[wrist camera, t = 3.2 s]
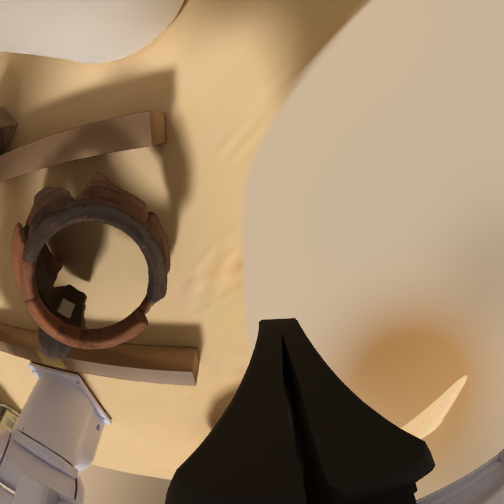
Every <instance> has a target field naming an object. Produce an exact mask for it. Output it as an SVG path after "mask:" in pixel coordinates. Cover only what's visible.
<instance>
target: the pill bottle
mask: <svg viewBox="0 0 504 504" xmlns="http://www.w3.org/2000/svg"><path fill="white" fill-rule="evenodd" d="M183 2H184V0H0V52H11V53H23V54H32V55H40V56H47V57H53V58H59V59H65V60H70V61H76V62H81V63H91V64H100V63H108V62H113V61H116V60H119V59H122V58H125V57H127V56H129V55H132V54H134V53H135V52H137V51H139V50H141V49H142V48H144V47H145V46H147V45H148V44H150V43H151V42H152V41H154V40H155V39H156V38H157V37H158V36H159V35H161V34H162V33H163V32H164V31H165V30H166V28H167V27H168V26H169V25H170V24H171V23H172V21H173V20H174V19H175V17H176V16H177V14H178V12H179V11H180V9H181V7H182V4H183Z"/></svg>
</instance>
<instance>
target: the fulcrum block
mask: <svg viewBox="0 0 504 504" xmlns="http://www.w3.org/2000/svg"><path fill="white" fill-rule="evenodd" d="M16 126H17V123H16V122H15V121H14V120H13V119H12V118H11V117H10V116H9V115H8V114H7V113H6V112H5V110H4V109H3V108H2V107H0V155H3V154H5V153H6V151H7V148H8V146H9V143H10V141H11V138H12V136H13V133H14V131H15V128H16Z"/></svg>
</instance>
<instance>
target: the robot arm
mask: <svg viewBox="0 0 504 504" xmlns="http://www.w3.org/2000/svg"><path fill="white" fill-rule="evenodd" d="M29 368H30V369H31V370H32V372H33V373H34V375H35V376H36V378H37V379H38V381H37V383H36V385H35V386H34V388H33V390H32V392H31V394H30V396H29V398H28V399H27V401H26V403H25V405H24V407H23V409H22V411H21V413H20V415H19V417H18V419H17V422H16V424H15V426H14V428H13V429H12V430H10V431H9V430H8V429H7V428H4V429H0V482H1V483H2V484H4V485H6V486H7V487H8V488H10V489H11V490H13V491H15V495H14V494H13V493H11V492H9V491H8V490H6V489H5V488H3V487H2V486H1V485H0V504H83V501H84V487H83V484H82V481H81V478H80V477H79V476H78V475H77V472H78V471H81V470H84V469H86V468H87V467H88V466H89V465H90V464H91V463H92V461H93V459H94V456H95V453H96V450H97V446H98V443H99V440H100V437H101V434H102V431H103V428H104V424H111V423H112V421H111V420H110V419H109V417H108V416H107V415H106V413H105V412H104V411H103V409H102V408H101V407H100V405H99V404H98V402H97V401H96V400H95V398H94V397H93V395H92V394H91V392H90V391H89V390H88V388H87V387H86V385H85V383H84V382H83V380H82V379H81V377H80V376H79V375H77V374H73V373H69V372H65V371H60V370H56V369H52V368H48V367H45V366H41V365H37V364H34V363H29ZM434 467H435V463H434V460H433V458H432V455H431V452H430V450H429V448H428V447H427V445H426V443H425V441H423V440H421V439H419V438H417V437H415V436H413V435H411V434H409V433H407V432H406V431H404V430H402V429H400V428H398V427H397V426H396V425H394V424H393V423H391V422H390V421H388V420H386V419H385V418H384V417H382V416H381V415H380V414H378V413H377V412H376V411H374V410H373V409H371V407H369V406H368V405H366V404H365V403H364V402H363V401H362V400H361V399H359V397H357V396H356V395H355V394H354V393H353V392H352V391H351V390H350V389H349V388H348V387H347V386H346V385H345V384H344V383H343V382H342V381H341V380H340V379H339V378H338V377H337V376H336V374H335V373H334V372H333V371H332V370H331V369H330V367H329V366H328V365H327V364H326V363H325V361H324V360H323V359H322V357H321V356H320V355H319V353H318V352H317V351H316V349H315V348H314V347H313V345H312V344H311V342H310V341H309V339H308V338H307V336H306V335H305V333H304V331H303V330H302V328H301V326H300V325H299V323H298V321H297V320H296V319H295V318H291V319H272V320H261V321H260V322H259V332H258V337H257V341H256V345H255V348H254V351H253V354H252V357H251V360H250V363H249V366H248V368H247V370H246V373H245V375H244V377H243V380H242V382H241V384H240V386H239V388H238V390H237V392H236V394H235V395H234V397H233V399H232V401H231V403H230V404H229V406H228V407H227V409H226V411H225V412H224V414H223V415H222V417H221V418H220V420H219V421H218V423H217V424H216V426H215V427H214V428H213V429H212V431H211V432H210V433H209V435H208V436H207V437H206V438H205V440H204V441H203V442H202V443H201V445H200V446H199V447H198V448H197V449H196V450H195V451H194V452H193V453H192V455H191V456H190V457H189V458H188V459H187V460H186V461H185V462H184V463H183V464H182V465H181V466H180V467H179V468H178V469H177V470H176V472H175V474H174V476H173V478H172V480H171V483H170V485H169V488H168V491H167V495H166V500H165V504H504V449H503V450H502V451H501V452H500V453H499V454H498V455H496V456H495V457H493V458H492V459H491V460H489V461H488V462H486V463H485V464H483V465H482V466H480V467H479V468H477V469H475V470H474V471H472V472H470V473H469V474H467V475H465V476H464V477H462V478H460V479H458V480H457V481H455V482H453V483H451V484H449V485H447V486H446V487H444V488H442V489H440V490H438V491H435V492H433V493H431V494H429V495H427V496H425V497H423V498H420V499H418V500H416V499H415V496H414V493H415V492H416V491H417V487H416V484H415V482H417V481H418V480H420V479H421V478H423V477H424V476H426V475H427V474H428V473H430V472H431V471H432V470H433V468H434Z"/></svg>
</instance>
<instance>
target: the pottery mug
mask: <svg viewBox="0 0 504 504" xmlns="http://www.w3.org/2000/svg"><path fill="white" fill-rule="evenodd" d="M81 221H94V222H100V223H104V224H109V225H112V226H114V227H116V228H119V229H121V230H123V231H124V232H125V233H126V234H128V235H129V236H130V237H131V238H132V239H133V240H134V241H135V242H136V243H137V244H138V246H139V247H140V249H141V251H142V252H143V254H144V256H145V259H146V261H147V264H148V274H149V283H148V288H147V294H146V296H145V298H144V300H143V302H142V303H141V305H140V306H139V307H138V308H137V309H136V310H135V311H134V312H133V313H132V314H130V315H129V316H128V317H126V318H125V319H124V320H122V321H120V322H118V323H116V324H114V325H111V326H108V327H104V328H98V329H86V327H85V319H84V310H85V307H86V305H85V302H86V299H87V296H86V294H84V293H83V292H81V291H79V290H77V289H75V288H74V287H73V286H72V285H67V286H59V287H53V285H54V282H55V280H56V279H57V274H58V272H59V271H60V270H61V268H62V264H61V263H60V262H59V261H58V260H57V259H56V258H55V257H54V256H53V254H52V253H51V252H50V250H49V248H48V246H47V244H46V242H47V241H48V240H49V239H50V238H51V237H52V236H53V235H54V234H55V233H57V232H58V231H60V230H61V229H63V228H65V227H67V226H69V225H72V224H75V223H79V222H81ZM11 255H12V266H13V271H14V275H15V279H16V282H17V284H18V287H19V289H20V292H21V294H22V296H23V299H24V300H25V304H26V307H27V309H28V311H29V313H30V315H31V316H32V317H33V319H34V321H35V322H36V323H37V324H38V340H39V341H38V343H39V348H40V351H41V352H42V353H43V354H44V355H45V356H46V357H48V358H54V359H61V358H64V357H66V356H67V354H68V353H69V351H70V349H71V346H72V347H76V348H84V349H102V348H110V347H114V346H117V345H119V344H121V343H125V342H126V341H128V340H130V339H132V338H134V337H135V336H136V335H138V334H139V333H140V332H142V331H143V330H144V329H145V328H146V327H147V325H148V320H147V318H146V316H145V314H146V313H147V312H148V311H149V309H150V308H151V307H152V306H153V305H154V303H156V302H157V301H159V300H160V299H162V298H163V297H164V296H165V294H166V290H167V274H168V272H169V270H170V253H169V246H168V242H167V238H166V235H165V232H164V230H163V228H162V226H161V224H160V222H159V220H158V218H157V216H156V214H155V213H154V212H147V207H146V205H145V203H144V202H143V201H142V200H140V199H139V198H137V197H136V196H134V195H132V194H130V193H128V192H127V191H124V190H122V189H121V188H119V187H118V186H116V185H115V184H114V183H112V182H111V181H110V180H109V179H108V178H107V177H106V176H104V175H103V174H101V173H100V172H97V173H96V174H95V177H94V178H93V179H92V180H91V181H90V182H89V184H88V185H87V187H86V188H85V190H84V191H83V192H82V194H81V195H80V196H79V197H78V198H77V199H74V198H73V197H72V196H71V195H70V193H69V192H68V191H66V190H64V189H61V188H56V189H53V188H52V187H51V186H46V187H44V188H43V189H42V190H41V191H39V192H38V193H37V194H36V195H35V199H34V204H33V206H32V209H31V212H30V214H29V216H28V218H27V221H26V225H25V227H24V228H23V227H22V225H21V224H20V223H18V224H17V225H16V227H15V230H14V234H13V240H12V251H11Z"/></svg>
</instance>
